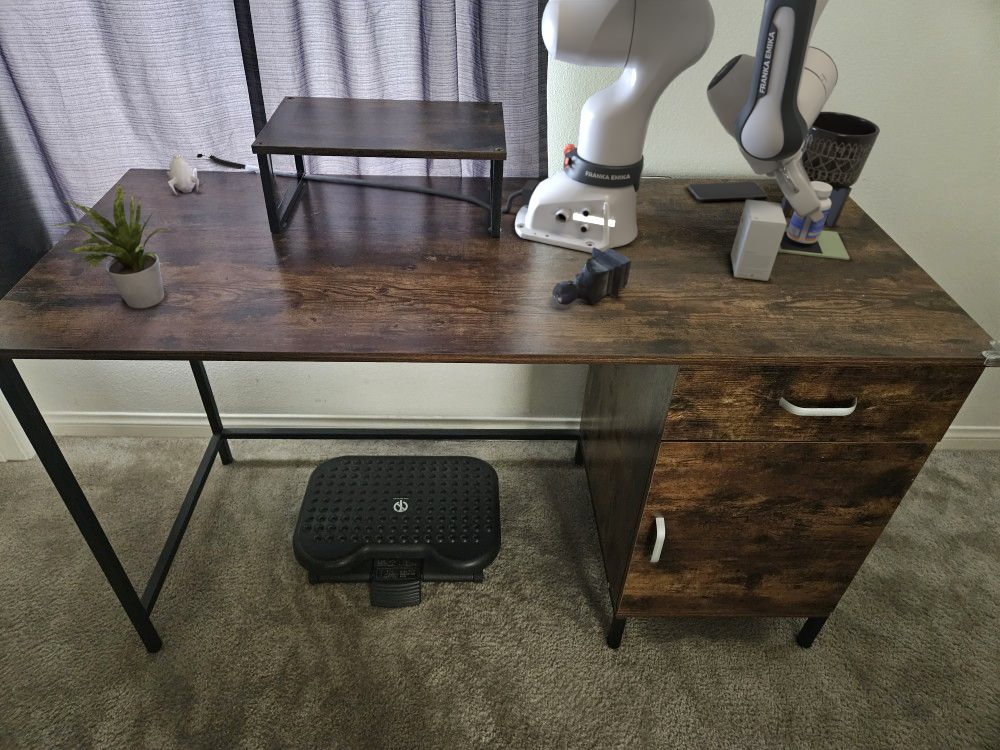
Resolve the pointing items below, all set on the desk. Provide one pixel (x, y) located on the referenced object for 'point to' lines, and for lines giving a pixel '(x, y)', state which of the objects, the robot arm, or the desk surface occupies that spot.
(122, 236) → the house plant
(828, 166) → the planter
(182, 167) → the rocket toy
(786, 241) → the felt pad
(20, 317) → the desk surface
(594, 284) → the dark statue fragment
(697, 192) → the smartphone
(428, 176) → the desk surface
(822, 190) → the pill bottle
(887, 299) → the desk surface
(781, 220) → the small box
